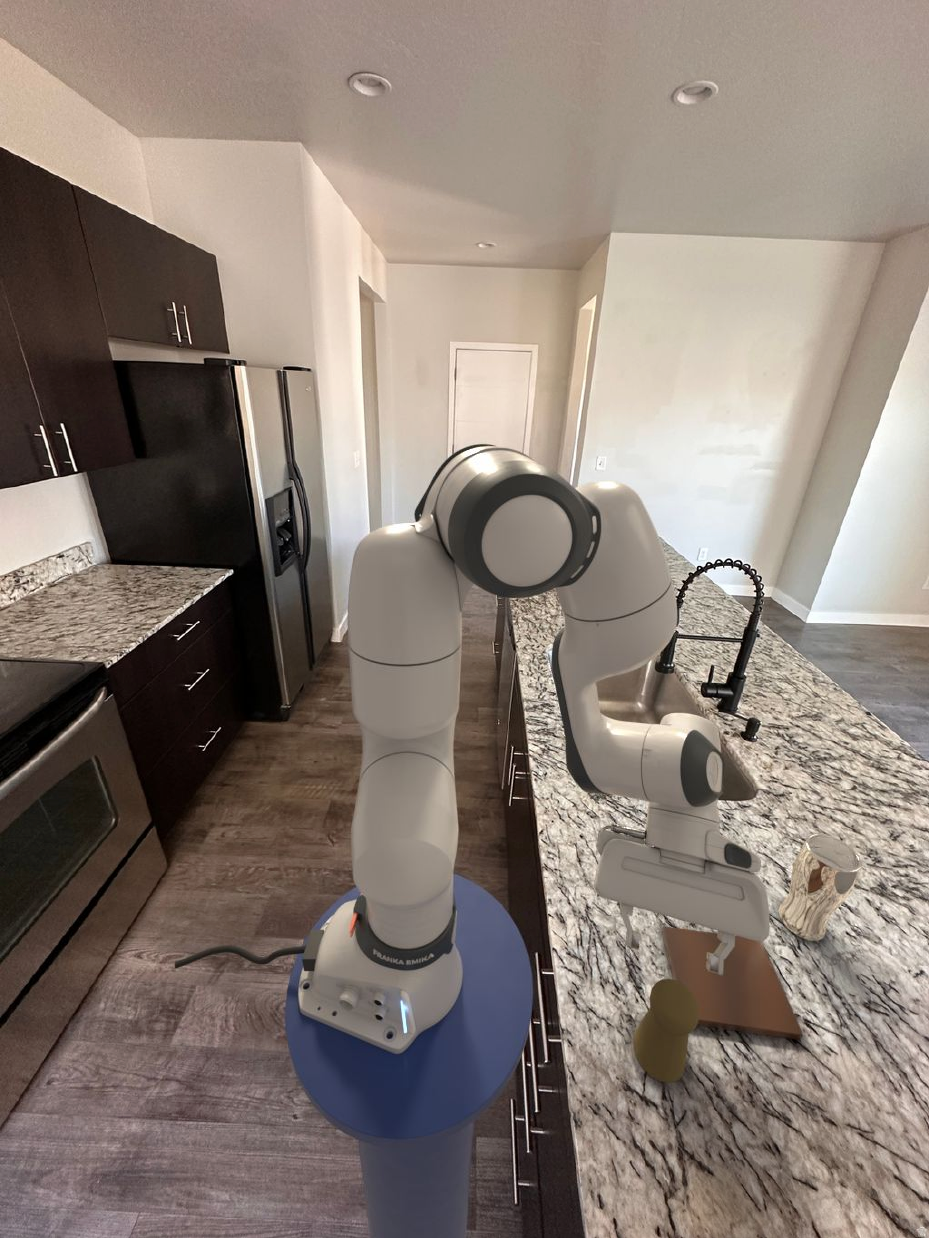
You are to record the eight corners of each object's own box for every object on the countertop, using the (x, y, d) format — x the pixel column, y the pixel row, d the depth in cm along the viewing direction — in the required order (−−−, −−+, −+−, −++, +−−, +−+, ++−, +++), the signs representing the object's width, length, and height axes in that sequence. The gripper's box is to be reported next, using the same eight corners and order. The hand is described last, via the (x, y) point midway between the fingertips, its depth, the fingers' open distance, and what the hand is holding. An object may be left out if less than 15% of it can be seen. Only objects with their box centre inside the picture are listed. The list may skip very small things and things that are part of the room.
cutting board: (684, 1023, 62) (686, 1017, 62) (660, 931, 73) (662, 925, 73) (800, 1040, 61) (803, 1034, 60) (758, 943, 72) (761, 938, 71)
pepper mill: (635, 1014, 63) (650, 960, 58) (685, 1035, 61) (705, 981, 56) (630, 1067, 58) (646, 1013, 53) (685, 1093, 56) (707, 1039, 51)
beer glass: (764, 907, 77) (792, 837, 71) (797, 895, 79) (827, 827, 73) (804, 950, 71) (839, 878, 65) (839, 936, 73) (876, 865, 67)
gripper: (601, 819, 64) (586, 938, 59) (775, 861, 59) (774, 996, 54) (598, 819, 70) (584, 928, 65) (757, 858, 64) (754, 979, 60)
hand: (672, 959), depth 59 cm, fingers open, 8 cm apart
